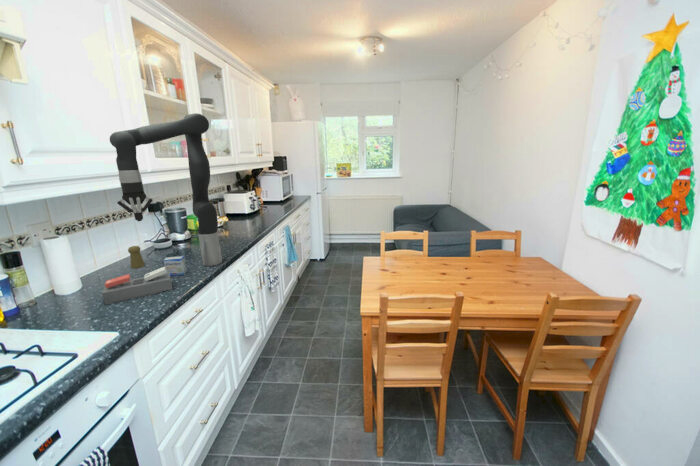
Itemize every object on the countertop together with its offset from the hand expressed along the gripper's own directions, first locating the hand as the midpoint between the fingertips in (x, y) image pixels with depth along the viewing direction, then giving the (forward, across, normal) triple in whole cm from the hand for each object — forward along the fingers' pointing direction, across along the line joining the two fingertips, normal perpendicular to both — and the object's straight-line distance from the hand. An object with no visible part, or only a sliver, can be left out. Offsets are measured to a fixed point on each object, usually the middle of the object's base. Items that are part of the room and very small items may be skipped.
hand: (139, 220), depth 128 cm
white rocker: (+22, -2, +11) cm, 25 cm away
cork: (+29, +7, -26) cm, 40 cm away
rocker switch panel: (+29, +4, +11) cm, 31 cm away
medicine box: (+29, -10, -3) cm, 31 cm away
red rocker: (+22, +10, +11) cm, 27 cm away
